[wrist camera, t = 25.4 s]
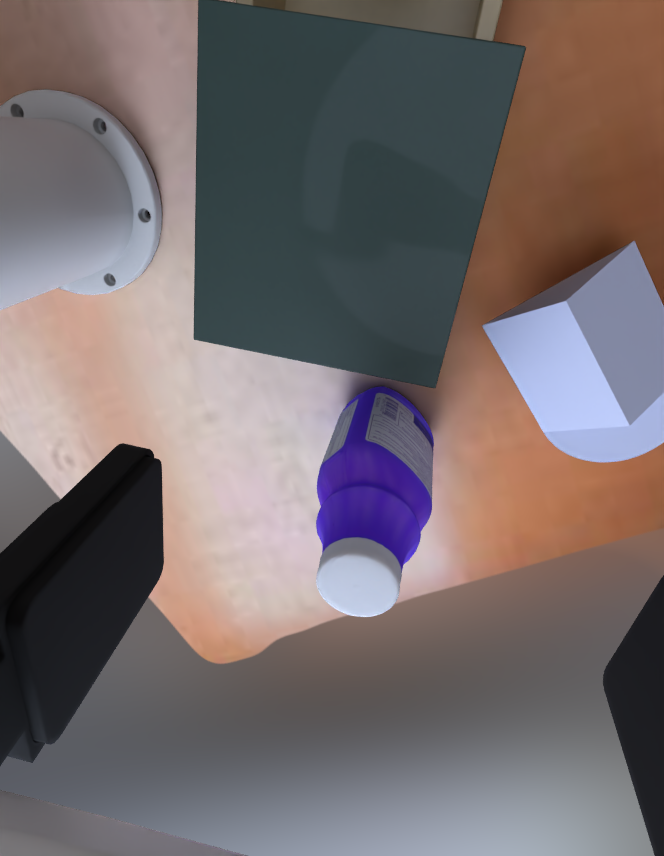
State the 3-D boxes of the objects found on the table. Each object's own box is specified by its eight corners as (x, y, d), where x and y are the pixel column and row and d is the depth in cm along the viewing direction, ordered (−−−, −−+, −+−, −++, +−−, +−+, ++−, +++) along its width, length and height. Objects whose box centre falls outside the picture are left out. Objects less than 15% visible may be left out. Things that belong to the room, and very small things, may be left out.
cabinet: (256, 31, 30) (197, -4, 23) (503, 69, 29) (526, 46, 22) (240, 300, 38) (193, 339, 30) (435, 338, 37) (435, 389, 29)
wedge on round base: (478, 310, 35) (562, 456, 39) (486, 343, 30) (584, 512, 33) (616, 231, 32) (693, 401, 36) (656, 252, 26) (743, 452, 30)
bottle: (327, 411, 41) (264, 570, 26) (381, 365, 38) (346, 511, 23) (392, 473, 43) (367, 656, 27) (447, 433, 40) (455, 610, 25)
